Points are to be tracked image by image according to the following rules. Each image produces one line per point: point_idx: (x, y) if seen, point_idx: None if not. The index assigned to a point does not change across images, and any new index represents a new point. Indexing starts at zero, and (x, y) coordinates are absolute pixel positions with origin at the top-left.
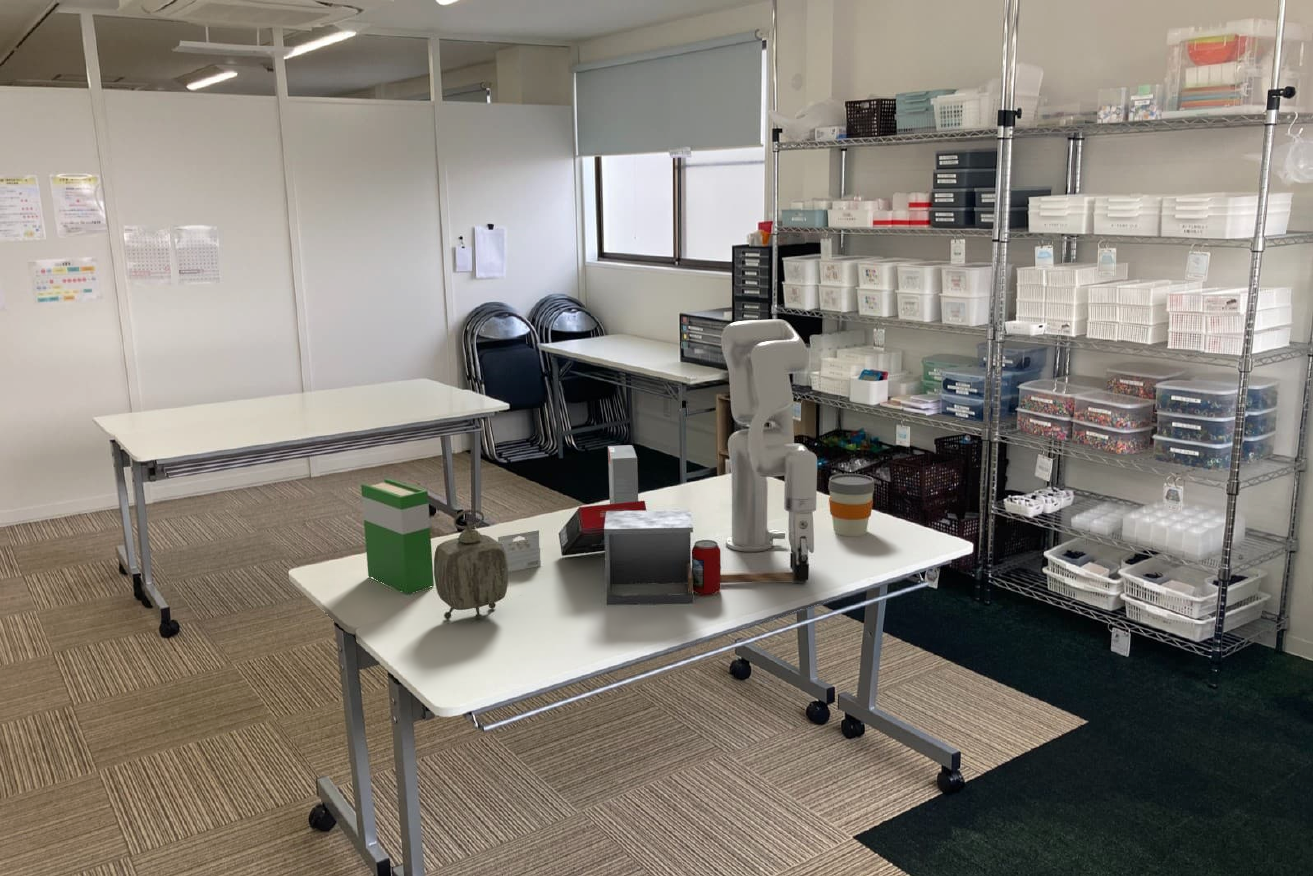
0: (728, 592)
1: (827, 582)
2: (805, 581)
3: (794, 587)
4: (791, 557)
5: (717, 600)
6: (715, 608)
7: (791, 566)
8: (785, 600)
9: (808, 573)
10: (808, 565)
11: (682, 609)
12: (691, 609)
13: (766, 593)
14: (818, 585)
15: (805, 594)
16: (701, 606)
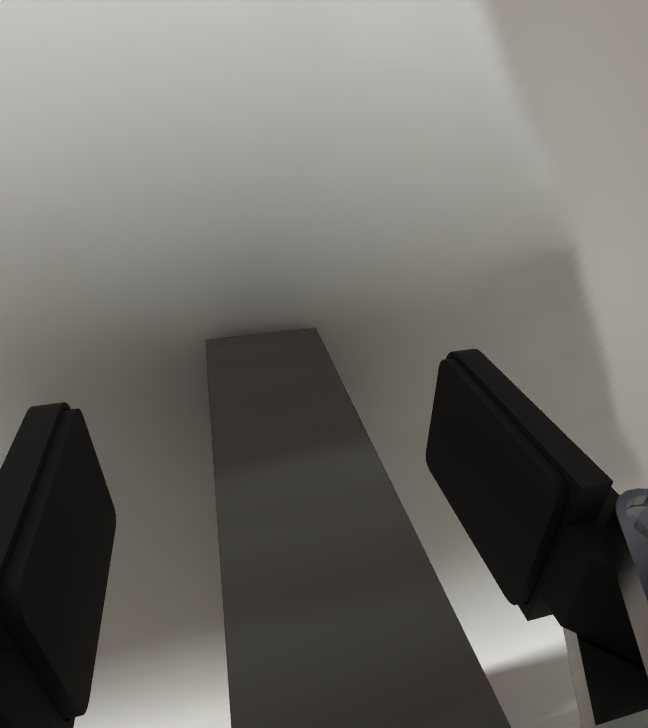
0: None
1: (244, 37)
2: (317, 337)
3: (377, 409)
4: (92, 665)
5: (489, 680)
6: (567, 664)
7: (111, 541)
8: (596, 450)
9: (516, 389)
10: (592, 468)
11: (537, 724)
12: (547, 709)
13: (456, 548)
14: (348, 185)
15: (544, 328)
16: (531, 698)
